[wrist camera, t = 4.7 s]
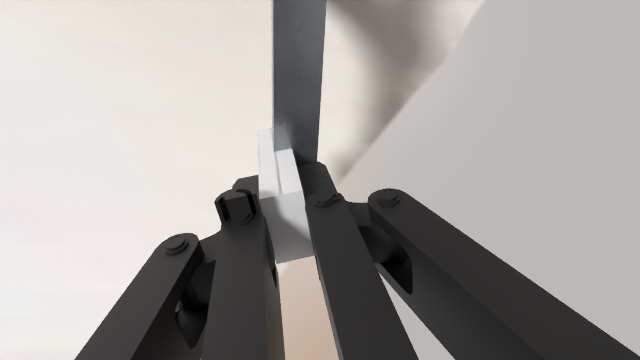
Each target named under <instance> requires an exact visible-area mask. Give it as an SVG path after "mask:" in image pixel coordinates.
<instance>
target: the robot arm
mask: <svg viewBox="0 0 640 360" xmlns="http://www.w3.org/2000/svg"><path fill="white" fill-rule="evenodd" d="M258 173H259V175H255V176H250V177H245V178H240V179H238V180H237V181H236V182H235V184H234V185H233V187H232V189H231V190H228V191H226V192H224V193H222V194H221V195H219V196H218V197H217V198H216V200H215V202H214V203H215V206H216V209H217V212H218V214H219V217H220V220H221V223H222V224H221V230H220V231H219V232H217V233H216V234H214V235H212V236H210V237H207V238H205V239H203V240H200V241H199V239H198V237H197V235H195V234H193V233H183V234H177V235H174V236H172V237H170V238H168V239H167V240H165V241H164V242H162V243H161V244H160V245H159V246H158V247H157V248H156V249H155V251H154V252H153V253H152V255H151V256H150V258H149V259H148V260H147V262H146V263H145V264H144V266H143V267H142V268H141V270H140V271H139V272H138V274H137V275H136V277H135V278H134V279H133V281H132V282H131V283H130V285H129V286H128V287H127V289H126V290H125V292H124V293H123V294H122V296H121V297H120V298H119V300H118V301H117V302H116V304H115V305H114V307H113V308H112V309H111V311H110V312H109V313H108V315H107V316H106V317H105V319H104V320H103V321H102V323H101V324H100V326H99V327H98V328H97V330H96V331H95V332H94V334H93V335H92V336H91V338H90V339H89V341H88V342H87V343H86V345H85V346H84V347H83V349H82V350H81V351H80V353H79V354H78V356H77V357H76V358H75V360H200V359H201V360H285V351H284V339H283V327H282V316H281V303H280V293H279V280H278V272H277V268H276V265H275V260H276V264H278V263H282V262H287V261H291V260H296V259H300V258H304V257H309V256H313V255H315V259H316V264H317V269H318V274H319V279H320V281H321V285H322V289H323V293H324V298H325V302H326V306H327V310H328V315H329V319H330V323H331V327H332V331H333V336H334V339H335V344H336V348H337V352H338V356H339V360H419V359H418V357H417V355H416V352H415V350H414V348H413V346H412V344H411V342H410V339H409V337H408V335H407V333H406V331H405V329H404V327H403V324H402V322H401V320H400V318H399V316H398V313H397V311H396V309H395V307H394V305H393V303H392V301H391V298H390V296H389V294H388V292H387V290H386V288H385V285H384V283H383V281H382V279H381V277H380V275H379V273H380V274H381V275H382V276H383V277H384V279H385V280H386V281H387V282H388V283H389V284H390V285H391V287H392V288H393V289H394V290H395V291H396V292H397V293H398V295H399V296H400V297H401V298H402V299H403V300H404V302H405V303H406V304H407V305H408V306H409V307H410V308H411V309H412V311H413V312H414V313H415V314H416V315H417V316H418V318H419V319H420V320H421V321H422V322H423V323H424V324H425V326H426V327H427V328H428V329H429V330H430V331H431V332H432V333H433V335H434V336H435V337H436V338H437V339H438V340H439V341H440V343H441V344H442V345H443V346H444V347H445V348H446V349H447V351H448V352H449V353H450V354H451V355H452V356H453V357H454V359H455V360H640V356H638V355H637V354H635V353H634V352H632V351H631V350H630V349H628V348H627V347H625V346H624V345H623V344H621V343H620V342H618V341H617V340H615V339H614V338H612V337H611V336H610V335H608V334H607V333H605V332H604V331H603V330H601V329H600V328H598V327H597V326H595V325H594V324H593V323H591V322H590V321H588V320H587V319H585V318H584V317H583V316H581V315H580V314H578V313H577V312H575V311H574V310H573V309H571V308H570V307H568V306H567V305H565V304H564V303H563V302H561V301H559V300H558V299H557V298H555V297H554V296H552V295H551V294H550V293H548V292H547V291H545V290H544V289H543V288H541V287H540V286H538V285H537V284H535V283H534V282H533V281H531V280H530V279H528V278H527V277H525V276H524V275H523V274H521V273H520V272H518V271H517V270H515V269H514V268H513V267H511V266H510V265H508V264H507V263H505V262H504V261H502V260H501V259H500V258H498V257H497V256H495V255H494V254H493V253H491V252H490V251H488V250H487V249H485V248H484V247H483V246H481V245H480V244H478V243H477V242H475V241H474V240H473V239H471V238H470V237H468V236H467V235H465V234H464V233H462V232H461V231H460V230H458V229H457V228H455V227H454V226H453V225H451V224H450V223H448V222H447V221H445V220H444V219H442V218H441V217H440V216H438V215H437V214H435V213H434V212H433V211H431V210H430V209H428V208H427V207H425V206H424V205H422V204H421V203H420V202H418V201H417V200H415V199H414V198H413V197H411V196H410V195H408V194H407V193H405V192H403V191H401V190H397V189H390V188H388V189H382V190H378V191H376V192H374V193H372V194H371V195H370V196H369V197H368V203H352V202H348V201H345V199H344V197H343V196H342V195H341V194H340V193H338V192H337V191H336V188H335V186H334V184H333V181H332V179H331V177H330V175H329V173H328V170H327V168H326V166H325V165H324V164H322V163H320V162H314V163H309V164H304V165H300V166H296V163H295V159H294V155H293V151H292V149H287V150H281V151H276V152H274V150H273V141H272V128H270V129H265V130H260V131H258Z"/></svg>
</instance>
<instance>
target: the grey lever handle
mask: <svg viewBox="0 0 640 360" xmlns="http://www.w3.org/2000/svg"><path fill="white" fill-rule="evenodd" d="M326 1H327V0H272V141H273V150H274V152H276V151H281V150H287V149H292V151H293V155H294V159H295V163H296V166H300V165H304V164H309V163H314V162H317V151H318V134H319V118H320V101H321V84H322V68H323V51H324V34H325V17H326Z"/></svg>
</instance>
